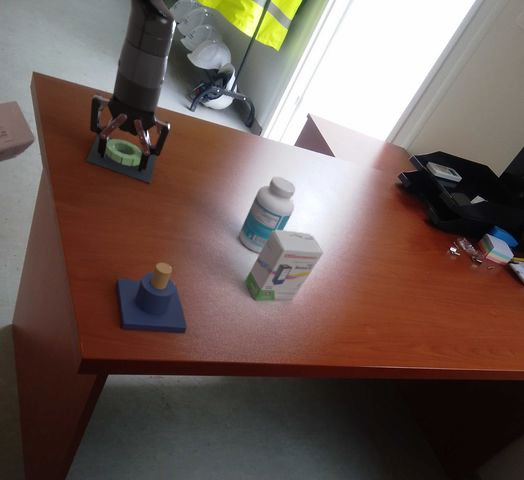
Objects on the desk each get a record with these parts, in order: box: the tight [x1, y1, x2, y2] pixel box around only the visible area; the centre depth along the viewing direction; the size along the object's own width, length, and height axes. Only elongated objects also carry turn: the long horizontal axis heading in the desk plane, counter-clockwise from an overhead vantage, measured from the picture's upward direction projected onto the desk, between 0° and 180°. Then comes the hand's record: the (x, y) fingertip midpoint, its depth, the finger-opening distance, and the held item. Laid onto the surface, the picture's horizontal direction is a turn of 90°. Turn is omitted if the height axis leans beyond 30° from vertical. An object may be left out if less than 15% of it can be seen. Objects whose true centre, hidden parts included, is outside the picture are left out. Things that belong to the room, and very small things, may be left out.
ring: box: [105, 138, 142, 166], centre depth 87 cm, size 7×7×1 cm
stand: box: [116, 262, 187, 334], centre depth 65 cm, size 9×9×8 cm
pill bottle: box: [239, 176, 296, 254], centre depth 87 cm, size 8×7×14 cm
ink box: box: [244, 229, 324, 301], centre depth 78 cm, size 9×5×12 cm, turn 118°
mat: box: [85, 134, 157, 185], centre depth 91 cm, size 12×12×1 cm
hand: (121, 162), depth 89 cm, fingers closed on ring, 6 cm apart
